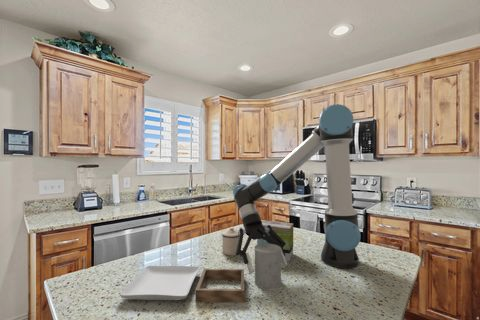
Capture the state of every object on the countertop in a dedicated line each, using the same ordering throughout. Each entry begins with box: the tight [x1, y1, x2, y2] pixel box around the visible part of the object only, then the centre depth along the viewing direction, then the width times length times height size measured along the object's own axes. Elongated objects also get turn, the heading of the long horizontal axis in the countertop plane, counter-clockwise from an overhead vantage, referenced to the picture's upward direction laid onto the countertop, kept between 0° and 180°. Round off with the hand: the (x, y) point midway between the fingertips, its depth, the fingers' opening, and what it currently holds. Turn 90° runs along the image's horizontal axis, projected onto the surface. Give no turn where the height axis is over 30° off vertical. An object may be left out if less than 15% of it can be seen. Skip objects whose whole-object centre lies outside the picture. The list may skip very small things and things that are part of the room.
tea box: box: [256, 219, 294, 263], centre depth 111 cm, size 15×10×15 cm, turn 68°
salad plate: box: [119, 265, 201, 301], centre depth 82 cm, size 21×21×3 cm
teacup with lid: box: [221, 227, 239, 256], centre depth 116 cm, size 12×9×12 cm
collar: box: [195, 268, 245, 303], centre depth 81 cm, size 15×15×4 cm
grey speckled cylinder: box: [254, 243, 282, 290], centre depth 86 cm, size 10×10×12 cm
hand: (269, 269), depth 85 cm, fingers open, 13 cm apart
